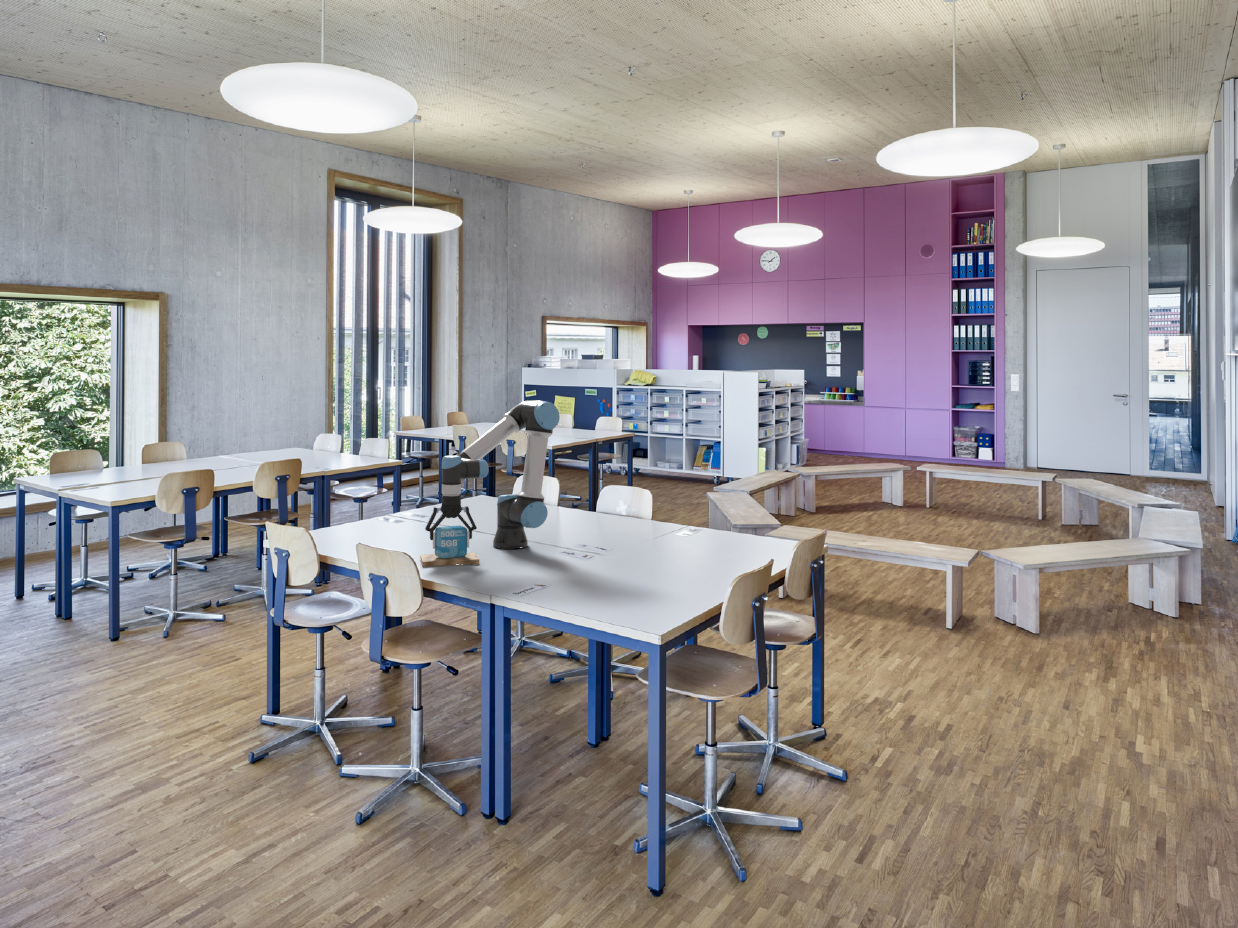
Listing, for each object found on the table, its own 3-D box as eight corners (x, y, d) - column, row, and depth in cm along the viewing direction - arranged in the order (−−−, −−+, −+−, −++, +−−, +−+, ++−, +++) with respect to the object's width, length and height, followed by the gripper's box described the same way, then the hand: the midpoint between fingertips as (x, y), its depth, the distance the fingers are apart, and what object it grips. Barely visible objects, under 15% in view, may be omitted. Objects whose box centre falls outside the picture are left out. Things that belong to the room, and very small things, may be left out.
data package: (438, 559, 328) (439, 529, 327) (434, 556, 332) (434, 527, 330) (467, 556, 334) (467, 526, 333) (462, 554, 338) (463, 525, 337)
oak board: (475, 557, 343) (475, 552, 342) (479, 564, 330) (479, 559, 330) (420, 559, 336) (420, 554, 336) (422, 566, 324) (422, 561, 324)
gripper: (481, 492, 338) (480, 544, 340) (418, 493, 330) (418, 546, 333) (483, 495, 331) (483, 548, 333) (420, 496, 323) (419, 550, 325)
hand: (451, 547), depth 333 cm, fingers closed on data package, 13 cm apart
